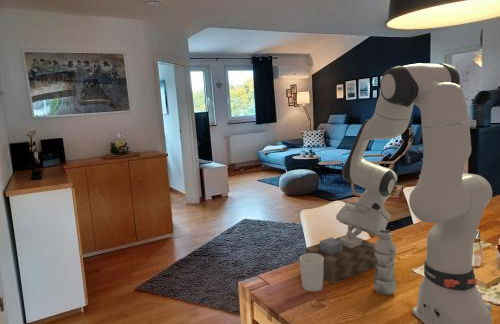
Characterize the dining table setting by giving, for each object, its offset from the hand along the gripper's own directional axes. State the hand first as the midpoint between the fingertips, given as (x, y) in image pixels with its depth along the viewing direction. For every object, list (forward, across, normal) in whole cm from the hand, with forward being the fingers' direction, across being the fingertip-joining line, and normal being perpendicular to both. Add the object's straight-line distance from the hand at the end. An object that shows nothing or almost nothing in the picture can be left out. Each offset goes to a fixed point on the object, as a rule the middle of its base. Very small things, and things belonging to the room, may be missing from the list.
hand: (349, 237), depth 132 cm
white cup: (+23, +4, -7) cm, 24 cm away
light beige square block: (+3, 0, +4) cm, 5 cm away
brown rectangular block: (+10, 0, +5) cm, 11 cm away
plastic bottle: (+11, +20, +4) cm, 23 cm away
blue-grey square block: (+9, 0, -4) cm, 9 cm away
